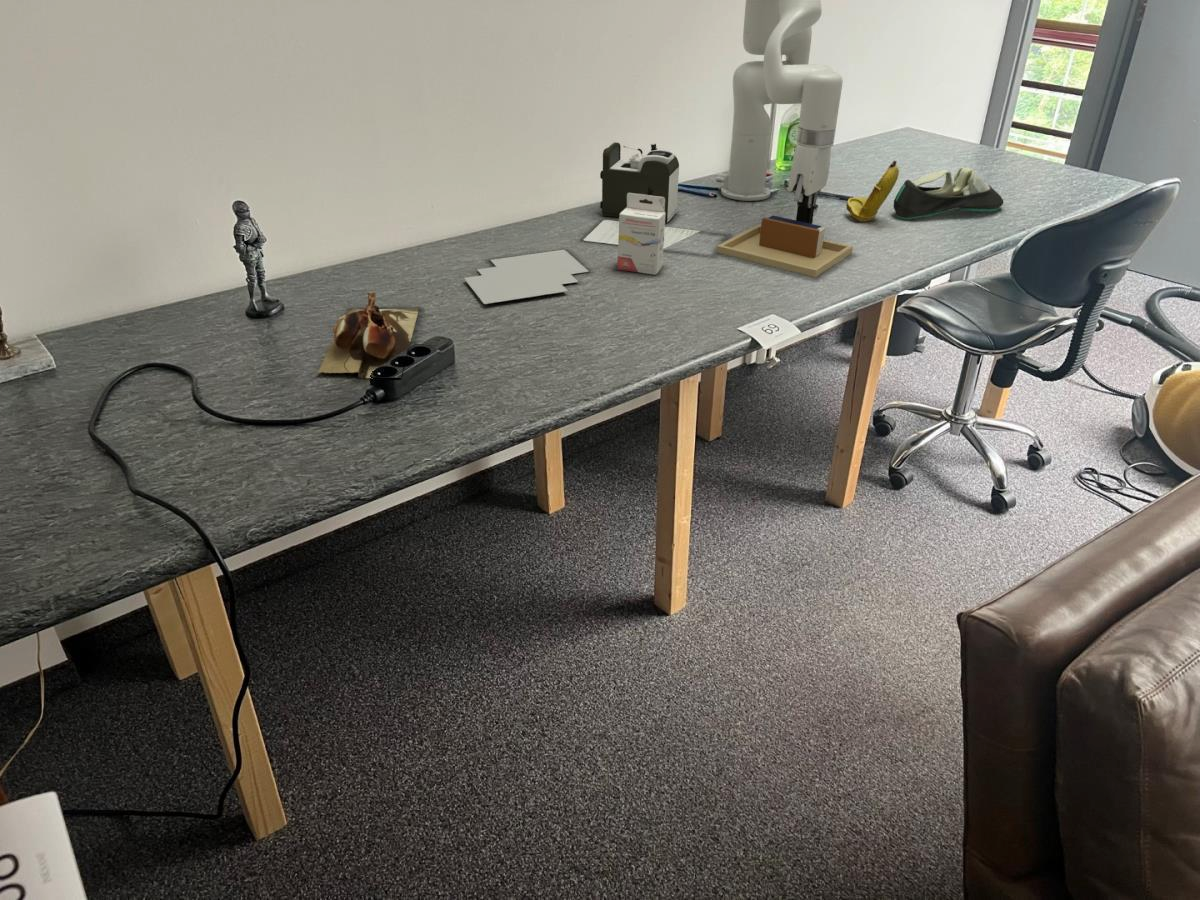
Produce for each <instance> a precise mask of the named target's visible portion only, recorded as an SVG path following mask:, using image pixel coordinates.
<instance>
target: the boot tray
mask: <svg viewBox="0 0 1200 900" xmlns="http://www.w3.org/2000/svg"><path fill="white" fill-rule="evenodd" d="M760 233H761V224H756V225H754V226H753V227H750V228H748V229H747V230H745V231H743V232H741V233H739V234H737V235H735V236H733V237H731V238H729V239H727V240H725V241H723V242H722V243H719V244H717V246H716V254H720V255H723V256H728V257H732V258H736V259H739V260H743V261H747V262H751V263H755V264H760V265H764V266H768V267H771V268H776V269H780V270H783V271H786V272H791V273H795V274H799V275H803V276H806V277H810V278H814V279H815V278H817V277H818V276H820V275H821V274H823V273H825V272H827V271H828V270H829V269H830V268H832V267H834V266H835V265H837V264H838V263H840V262H841V261H843V260H844V259H846V258H847V257H849V256H850V255H852V254H853V249H854V246H853V245H849V244H844V243H841V242H836V241H831V240H828V239H823V245H822V251H821V253H820V254H818V255H817V256H816V257H815V258H810V257H806V256H801V255H797V254H793V253H789V252H785V251H781V250H777V249H772V248H768V247H764V246H760V245H759V242H760Z"/></svg>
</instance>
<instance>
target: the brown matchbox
mask: <svg viewBox="0 0 1200 900" xmlns="http://www.w3.org/2000/svg"><path fill="white" fill-rule="evenodd" d="M760 225H761V233H760V242H759V245H760V246H764V247H768V248H772V249H777V250H781V251H785V252H789V253H793V254H797V255H801V256H806V257H810V258H815V257H816V256H817V255H818V254H820V253H821V251H822V245H823V240H824V237H825V231H826V228H825V227H822V225H819V224H815V223H812V224H810V223H805V222H801V221H796V219H792V218H791V219H790V218H787V217H783V216H778V215H770V216H768V217H762V218H761V224H760Z"/></svg>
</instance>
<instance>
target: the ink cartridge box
mask: <svg viewBox="0 0 1200 900" xmlns="http://www.w3.org/2000/svg"><path fill="white" fill-rule="evenodd" d="M644 199H647V200H648V201H652V202H653V203H652V204H646V203H640V202H639V200H644ZM665 214H666V213H665V198H664V197H659V196H652V195H644V194H634V193H627V208H625V209H624V210H623V211H622V212H621V213H620V214H619V217H618V221H619V237H618V245H617V270H619V271H628V272H635V273H642V274H646V275H648V274H649V275H652V276H653V275H654V276H656V275H658V273H659V272H660V270H661V269H662V268H663V263H664V249H663V247H664V230H665V227H666V222H665Z"/></svg>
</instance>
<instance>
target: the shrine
mask: <svg viewBox="0 0 1200 900" xmlns="http://www.w3.org/2000/svg"><path fill="white" fill-rule="evenodd" d="M897 163H898V161H897V160H893V162H892V163H891V164H890V165H889V166H888V167H887V169H886V170H885V172H884V173H883V175H882V176H881V177H880V179H879V180H878V182H877V183H875V184H874V185H873V189H872V191H871V192H870V194H869V196H868V197H863V196H860V197H859V196H856V197H849V198H848V199H847V202H846V205H845V207H846V210H847V212H849V217H850V218H851V219H853V220H854V221H855V222H858V223H869V222H872V221H873V220H874V219H875V218H876V216H877V214H878V212H879V209H880V208H881V206H882V205H883V203H884V202H885V201H886V200H887V198H888V196H889V195H890V193H891V192H892V190H893V188H894V187H895V185H896V183H897V181H898V179H899V172H900V169H899V166H898V165H897Z"/></svg>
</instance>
